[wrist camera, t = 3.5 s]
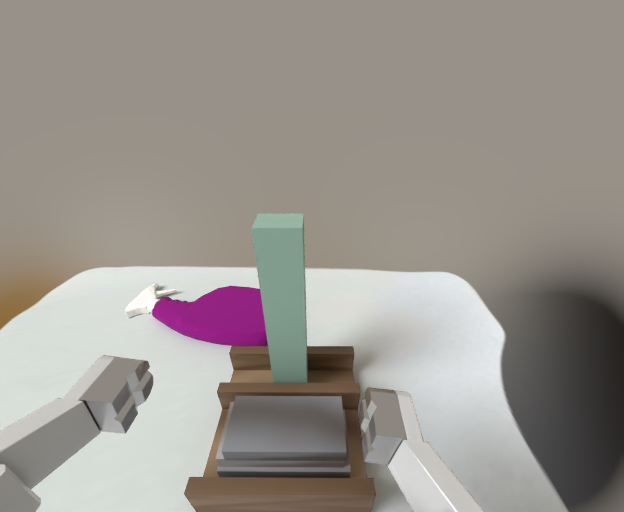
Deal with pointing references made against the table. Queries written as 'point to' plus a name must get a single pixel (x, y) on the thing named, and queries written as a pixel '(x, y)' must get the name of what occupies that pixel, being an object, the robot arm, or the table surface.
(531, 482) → the table surface
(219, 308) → the spray bottle
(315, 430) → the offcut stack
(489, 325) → the table surface
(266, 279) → the tall board
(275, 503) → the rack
